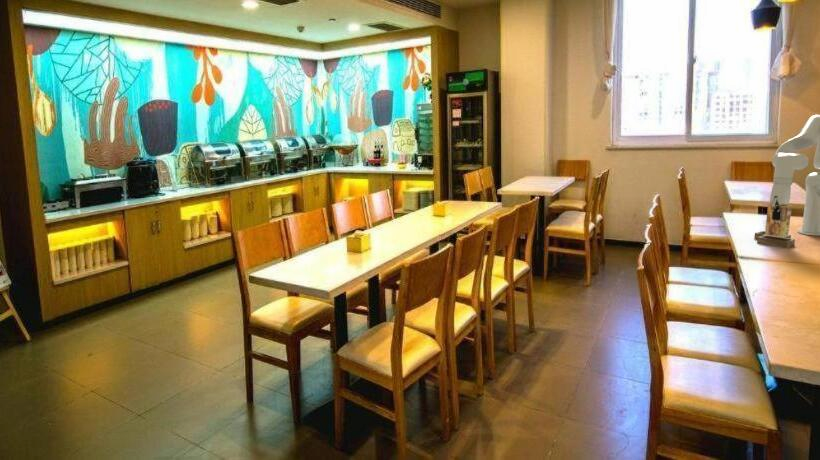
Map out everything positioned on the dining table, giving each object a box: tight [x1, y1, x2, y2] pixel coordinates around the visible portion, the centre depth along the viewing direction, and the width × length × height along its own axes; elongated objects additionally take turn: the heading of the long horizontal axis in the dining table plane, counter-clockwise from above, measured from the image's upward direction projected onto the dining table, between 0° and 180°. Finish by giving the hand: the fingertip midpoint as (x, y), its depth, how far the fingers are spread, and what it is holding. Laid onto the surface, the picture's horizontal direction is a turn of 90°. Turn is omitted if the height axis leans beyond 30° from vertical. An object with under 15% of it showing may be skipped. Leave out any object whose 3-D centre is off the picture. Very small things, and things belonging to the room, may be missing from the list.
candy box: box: [764, 203, 793, 238], centre depth 264 cm, size 9×4×15 cm, turn 34°
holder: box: [754, 230, 796, 249], centre depth 270 cm, size 16×18×3 cm
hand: (778, 218), depth 264 cm, fingers closed on candy box, 4 cm apart
